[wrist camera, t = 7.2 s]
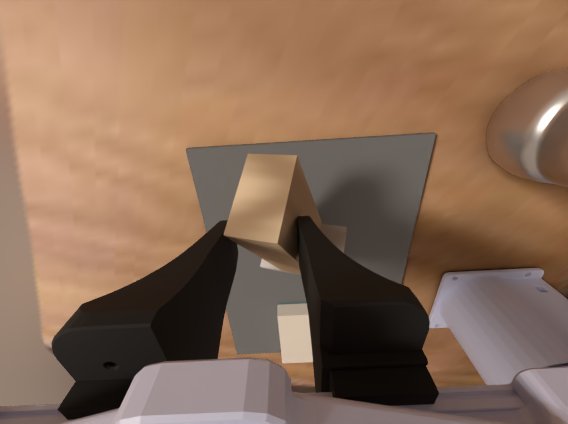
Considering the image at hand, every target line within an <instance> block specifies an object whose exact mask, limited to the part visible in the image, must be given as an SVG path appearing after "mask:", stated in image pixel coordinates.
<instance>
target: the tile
mask: <svg viewBox="0 0 568 424" xmlns="http://www.w3.org/2000/svg"><path fill="white" fill-rule="evenodd" d="M277 318H278V327H279V336H280V345H281V355H282V363H299V362H313V356H312V346H311V336H310V326H309V316H308V308H307V302H302V303H282V304H279V305H278V306H277Z"/></svg>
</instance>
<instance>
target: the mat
mask: <svg viewBox="0 0 568 424" xmlns="http://www.w3.org/2000/svg"><path fill="white" fill-rule="evenodd" d="M435 136H436V133H417V134H401V135H385V136H369V137H354V138H338V139H322V140H306V141H290V142H274V143H258V144H242V145H226V146H210V147H194V148H187V149H186V153H187V157H188V161H189V165H190V168H191V172H192V176H193V180H194V184H195V188H196V192H197V196H198V200H199V204H200V208H201V212H202V216H203V220H204V224H205V228H206V232H208V231H209V230H210V229H211V228H212V227H214V226H215V225H216V224H217V223H218V222H219V221H221V220H228V218H229V215H230V211H231V208H232V205H233V201H234V198H235V195H236V191H237V188H238V185H239V182H240V178H241V175H242V172H243V168H244V165H245V162H246V158H247V155H248V154H274V155H297V156H298V159H299V161H300V164H301V167H302V170H303V172H304V175H305V178H306V181H307V183H308V186H309V189H310V191H311V194H312V197H313V200H314V202H315V205H316V208H317V211H318V213H319V216H320V219H321V221H322V224H327V225H335V226H343V227H347V232H346V240H345V247H344V254H346V255H347V256H348V257H350V258H351V259H353V260H354V261H356V262H357V263H359V264H360V265H362V266H364V267H365V268H367V269H369V270H371V271H373V272H375V273H377V274H379V275H381V276H383V277H385V278H387V279H389V280H392V281H394V282H397V283H399V284H402V279H403V275H404V271H405V266H406V262H407V258H408V253H409V249H410V245H411V240H412V236H413V232H414V227H415V223H416V219H417V214H418V210H419V206H420V201H421V197H422V192H423V188H424V184H425V179H426V175H427V171H428V166H429V162H430V158H431V153H432V149H433V145H434V140H435ZM237 247H238V261H237V268H236V273H235V276H234V280H233V284H232V288H231V291H230V295H229V298H228V302H227V306H226V311H227V315H228V319H229V323H230V327H231V331H232V335H233V339H234V343H235V347H236V351H237V354H255V353H277V352H281V345H280V336H279V327H278V318H277V306H278V305H279V304H282V303H302V302H306V297H305V293H304V288H303V283H302V278H301V275H297V274H292V273H286V272H281V271H276V270H271V269H265V268H262V267H260V264H261V260H262V258H260V257H259V256H257V255H255V254H254V253H252V252H250V251H249V250H247V249H245V248H244V247H242V246H240V245H239V244H237Z"/></svg>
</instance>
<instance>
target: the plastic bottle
mask: <svg viewBox="0 0 568 424" xmlns="http://www.w3.org/2000/svg"><path fill="white" fill-rule="evenodd" d="M486 145H487V150H488V153H489V155H490V157H491V159H492V160H493V161H494V162H495V163H496V164H498V165H499V166H500V167H502V168H503V169H504V170H506V171H507V172H509V173H510V174H512V175H515V176H517V177H521V178H525V179H529V180H533V181H537V182H543V183H549V184H555V185H560V186H564V187H567V188H568V67H567V68H562V69H557V70H553V71H549V72H545V73H542V74H540V75H538V76H536V77H533V78H532V79H530V80H529V81H527V82H525V83H524V84H522V85H521V86H519V87H518V88H517V89H515V90H514V91H513V92H512V93H511V94H509V95H508V96H507V97H506V98H505V99H504V100H503V101H502V102H501V103H500V105H499V106H498V107H497V109H496V110H495V112H494V113H493V115H492V117H491V119H490V121H489V124H488V127H487V132H486Z"/></svg>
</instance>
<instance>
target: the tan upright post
mask: <svg viewBox="0 0 568 424" xmlns="http://www.w3.org/2000/svg"><path fill="white" fill-rule="evenodd" d="M298 216H310V217H311V218H312V220H313V221H314V223H315V224H316V225H317V227H318V228H319V229H320V230H321V231H322V233H323V234H324V235H325V236H326V237H327V238H328V239H329V240H330V241H331V242H332V243H333V244H334V245H335V246H336V247H337V248H338V249H339V250H341V251H342V252H343V253H344V247H345V240H346V232H347V227H343V226H335V225H327V224H322V221H321V219H320V216H319V213H318V211H317V208H316V205H315V202H314V200H313V197H312V194H311V191H310V189H309V186H308V183H307V181H306V178H305V175H304V172H303V170H302V167H301V164H300V161H299V159H298V156H297V155H274V154H248V155H247V158H246V162H245V165H244V168H243V172H242V175H241V178H240V182H239V185H238V188H237V191H236V195H235V198H234V201H233V205H232V208H231V211H230V215H229V218H228V221H227V225H226V228H225V231H224V236H225V237H227V238H229V239H230V240H232V241H234V242H235V243H237V244H239V245H240V246H242V247H244V248H245V249H247V250H249V251H250V252H252V253H254V254H255V255H257V256H259V257H260V258H262V260H261V264H260V267H262V268H265V269H271V270H276V271H281V272H286V273H292V274H297V275H301V273H300V268H299V258H298V236H297V217H298Z"/></svg>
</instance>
